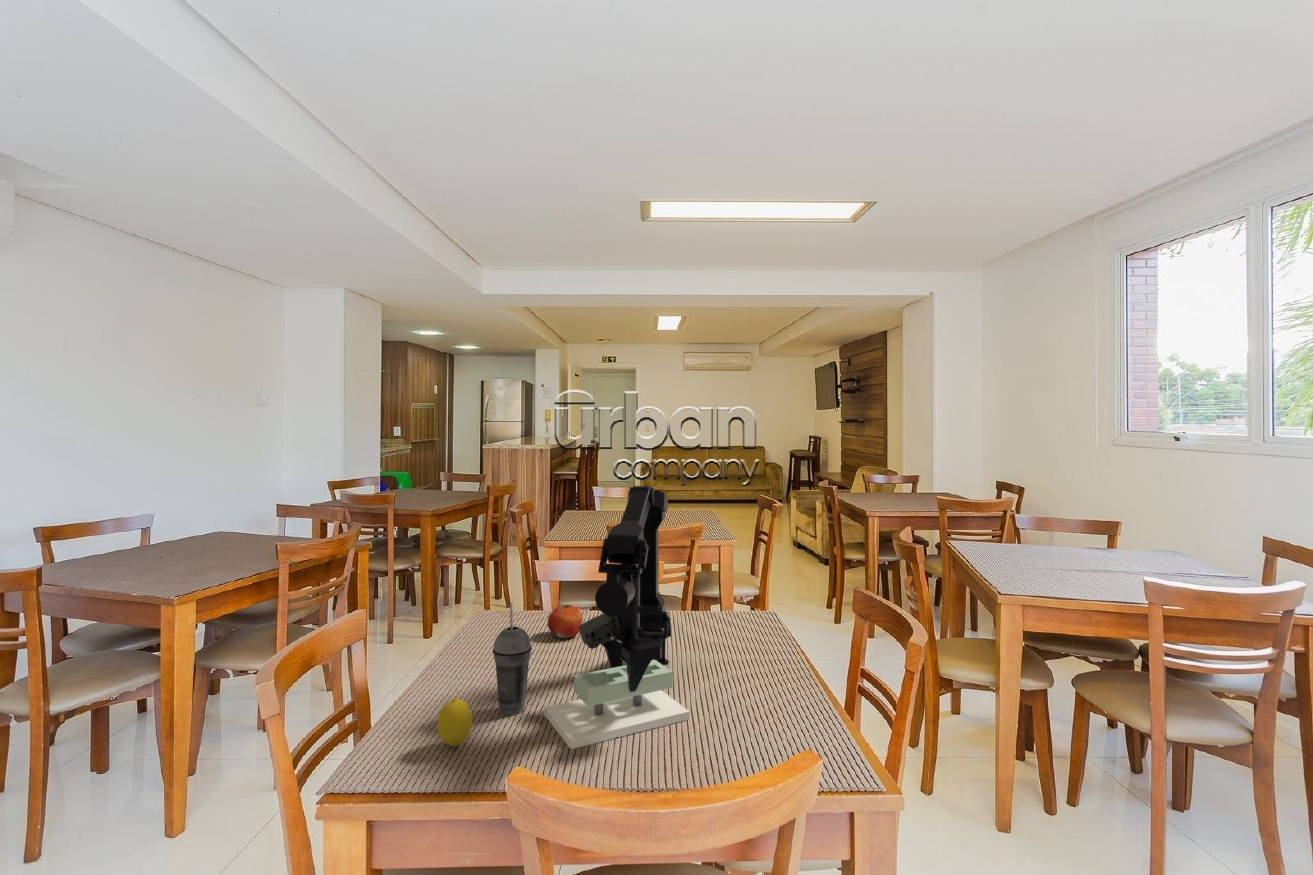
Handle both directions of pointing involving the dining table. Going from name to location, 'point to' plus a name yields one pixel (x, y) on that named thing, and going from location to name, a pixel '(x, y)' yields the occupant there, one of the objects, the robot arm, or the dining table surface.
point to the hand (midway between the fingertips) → (624, 684)
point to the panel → (620, 683)
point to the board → (613, 718)
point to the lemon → (454, 722)
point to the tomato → (565, 621)
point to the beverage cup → (512, 667)
